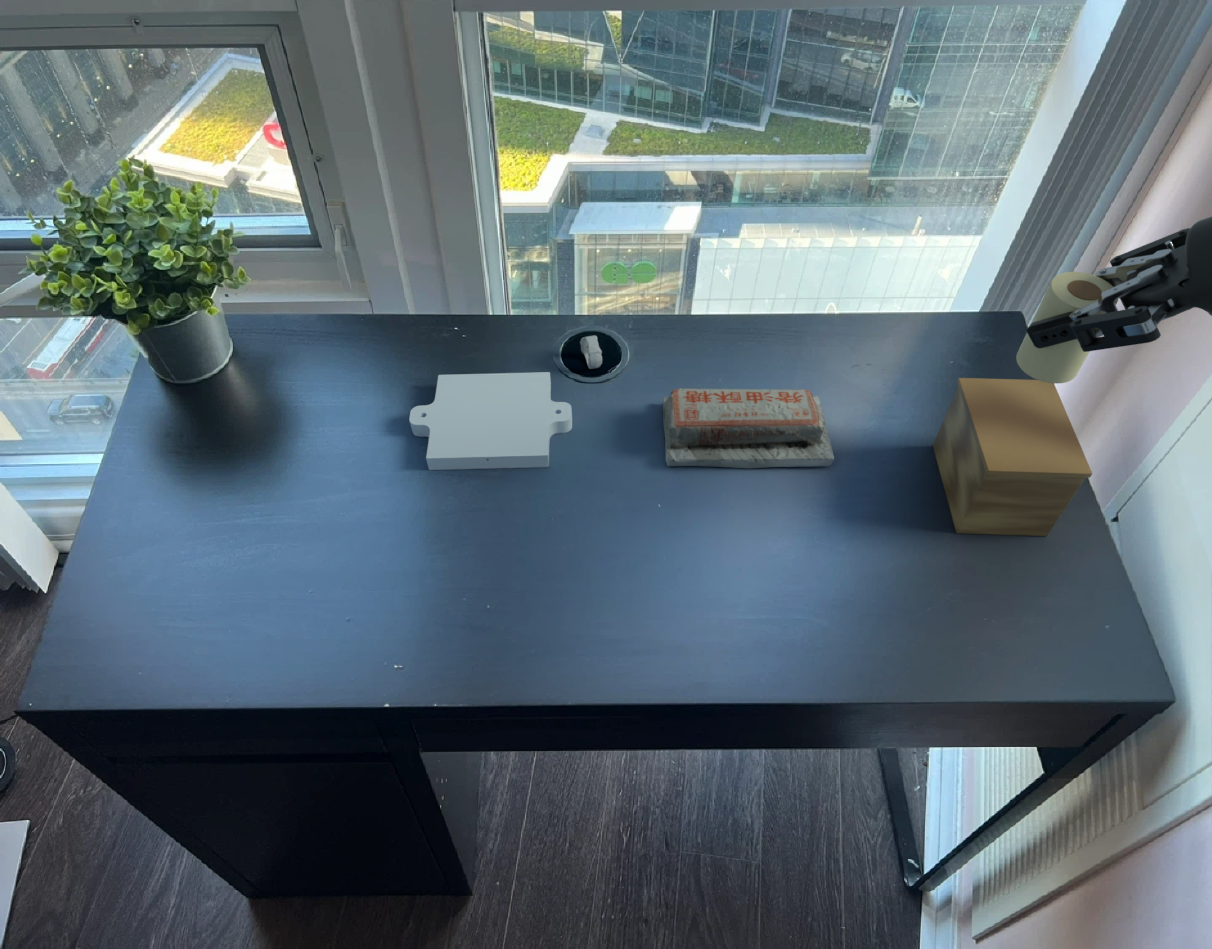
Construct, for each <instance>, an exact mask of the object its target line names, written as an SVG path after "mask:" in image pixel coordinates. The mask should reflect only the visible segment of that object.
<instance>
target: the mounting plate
mask: <svg viewBox="0 0 1212 949" xmlns="http://www.w3.org/2000/svg"><path fill="white" fill-rule="evenodd" d="M551 381H552V379H551V372H550V371H541V372H537V371H536V372H501V373H500V372H499V373H495V372H493V373H466V374H465V373H460V374H459V373H458V374H438V376H437V382H436V388H435V395H434V400H433V402H431V403H430V404H425V405H424V404H423V405H416V406H414V407H413V408H412V409H411V410H410V413H409V419H408V421H409V425H410V428H411V432H412V434H413V435H414V436H415V437H419V438H428V442H427V443H428V444H427V450H426V455H425V460H426V463H427V464H426V465H427V467H428V471H444V470H445V471H451V470H452V471H453V470H454V471H455V470H489V469H490V470H491V469H524V468H525V469H526V468H527V469H528V468H529V469H530V468H531V469H532V468H549V467H550V444H551V443H550V441H551V438H552V436H554V435H556V434H566V433H570V432H571V430H572V429H573V410H572V408H573V407H572V405H571V404H570V403H569V402H565V401H554V400H552V398H551V396H552V395H551V394H552V382H551Z"/></svg>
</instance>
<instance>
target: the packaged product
mask: <svg viewBox="0 0 1212 949" xmlns="http://www.w3.org/2000/svg"><path fill="white" fill-rule="evenodd" d="M820 400H821V399H820V395H818V396H814V394H813V393H812V392H811V390H809V389H798V388H797V389H793V388H789V389H785V388H782V389H781V388H685V387H684V388H683V387H682V388H681V387H680V388H674V389H673V388H672V390H671V391H670V394H669V396H663V397H662V419H663V420H662V421H663V431H664V440H665V462H666V465H667V467H711V468H712V467H713V468H715V467H717V468H733V469H734V468H735V469H736V468H737V469H764V468H785V467H787V468H792V467H795V468H796V467H797V468H798V467H800V468H801V467H804V468H805V467H809V468H810V467H831V466H832V464H833V462H834V460H835V455H834V451H833V447H832V444H831V438H830V435H829V432H828V429H827V424H826V420H825V415H824V411H823V407H822V403H821V401H820Z"/></svg>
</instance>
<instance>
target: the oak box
mask: <svg viewBox="0 0 1212 949" xmlns="http://www.w3.org/2000/svg"><path fill="white" fill-rule="evenodd" d="M956 384H957V387H956V390H955V392H954V394H953V397H952V399H951V402H950V404H949V406H948V408H947V411H946V413H945V416H944V418H943V419H942V420H943V421H942V423H941V425H940V427H939V429H938V432H937V434H936V437H935V438H934V440H933V444H932V448H933V452H934V456H935V460H936V464H937V466H938V471H939V474H940V477H941V481H942V485H943V488H944V493H945V496H946V500H947V504H948V507H949V510H950V514H951V518H952V522H953V525H954V529H955V532H956V534H970V535H973V534H974V535H999V536H1001V535H1002V536H1029V537H1031V536H1033V537H1048V535H1049V534H1050V533H1051V531H1052V529H1053V528H1054V526H1055V525H1056V523H1057V522H1058V520H1059V519H1060V517H1061V516H1062V514H1063V513H1064V511H1065V510H1066V508H1067V507H1068V505H1069V504H1070V502H1071V501H1072V499H1073V498H1074V497H1075V495H1076V493H1077V492H1078V490H1079V489H1080V487H1081V486H1082V484H1083V483H1084V481H1085V480H1086V478H1087V479H1090V478H1091V477H1092V476H1093V470H1091V467H1090V465H1089V461H1088V460H1087V458H1086V455H1085V453H1084V451H1083V448H1082V446H1081V443H1080V440H1079V439H1078V437H1077V434H1076V431H1075V429H1074V426H1073V425H1072V423H1071V420H1070V418H1069V415H1068V413H1067V411H1066V408H1065V406H1064V404H1063V401H1062V399H1061V396H1060V394H1059V392H1058V389H1057V387H1056V385H1055V383H1047V382H1043V381H1039V380H1037V379H1021V378H1020V379H1018V378H1016V379H1015V378H979V377H978V378H977V377H974V378H973V377H958V378H957V381H956Z"/></svg>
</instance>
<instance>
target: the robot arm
mask: <svg viewBox="0 0 1212 949" xmlns="http://www.w3.org/2000/svg"><path fill="white" fill-rule="evenodd" d="M1109 264H1110V265H1111V266H1107V267H1104V268H1101V269H1100V270H1098V271H1097V272H1096V273H1095V274H1094V275H1095V276H1097V277H1100V278H1102V279H1103V280H1105V281H1107V282H1108V283H1110V284H1111V285H1112V286H1113V288H1111V289H1109V290H1106V291H1104V292H1102V293H1101V294H1100V297H1099V300H1098V301H1096V302H1094V303H1091V304H1089V305H1087V306H1085V307H1082V308H1080V309H1078V310H1075V311H1074V312H1072V311H1071V312H1067V313H1064V314H1060V315H1057V316H1053V317H1050V318H1047V319H1043V320H1040V321H1036V322H1033V323H1032V322H1031V323H1030V324H1029V326H1028V327H1027V329H1026V333H1028V335H1029V337H1030V339H1031V341H1032V343H1033V344H1034V346H1035V347H1037V348H1045V347H1048V346H1052V345H1056V344H1060V343H1063V342H1067V341H1071V340H1075V339H1077V340H1078V341H1079V343H1080V346H1081V348H1082V350H1083V351H1084V352H1088V351H1090V352H1094V351H1101V350H1107V349H1114V348H1122V347H1129V346H1135V345H1141V344H1142V345H1143V344H1150V343H1152V342H1154V341H1157V340H1158V339H1160V337H1161V336H1162V334H1161V332H1160V330H1159V328H1158V325H1159V324H1160V323H1161V322H1162V321H1165V320H1168V319H1170V318H1173V317H1175V316H1177V315H1179V314H1182V313H1185V312H1187V311H1190V310H1191V309H1192V310H1193V308H1198V309H1200V310H1203V311H1205V312H1206V313H1207V314H1208V315H1210V316H1211V317H1212V216H1209V217H1206V218H1204V219H1200V220H1198V221H1196V222H1195V223H1194V224H1193V225H1192V226H1191V227H1187V228H1182V229H1180V230H1178V231H1176V232H1173V233H1170V234H1168V235H1165V236H1164V237H1161V238H1159V239H1155V240H1153V241H1151V242H1149V243H1146V244H1143V245H1141V246H1139V247H1136V248H1133V249H1131V250H1129V251H1127V252H1124V253H1122V254H1118V255H1116V256H1114V257H1112V258H1111V259H1110V261H1109ZM1116 299H1118V300H1120V301H1121V304H1122V305H1123V308H1124V309H1121V310H1119V309H1118V307H1117V304H1116V305H1115V301H1116ZM1100 311H1105V312H1106V313H1104V314H1099V315H1094V316H1091V315H1093V314H1096V313H1098V312H1100Z"/></svg>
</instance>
